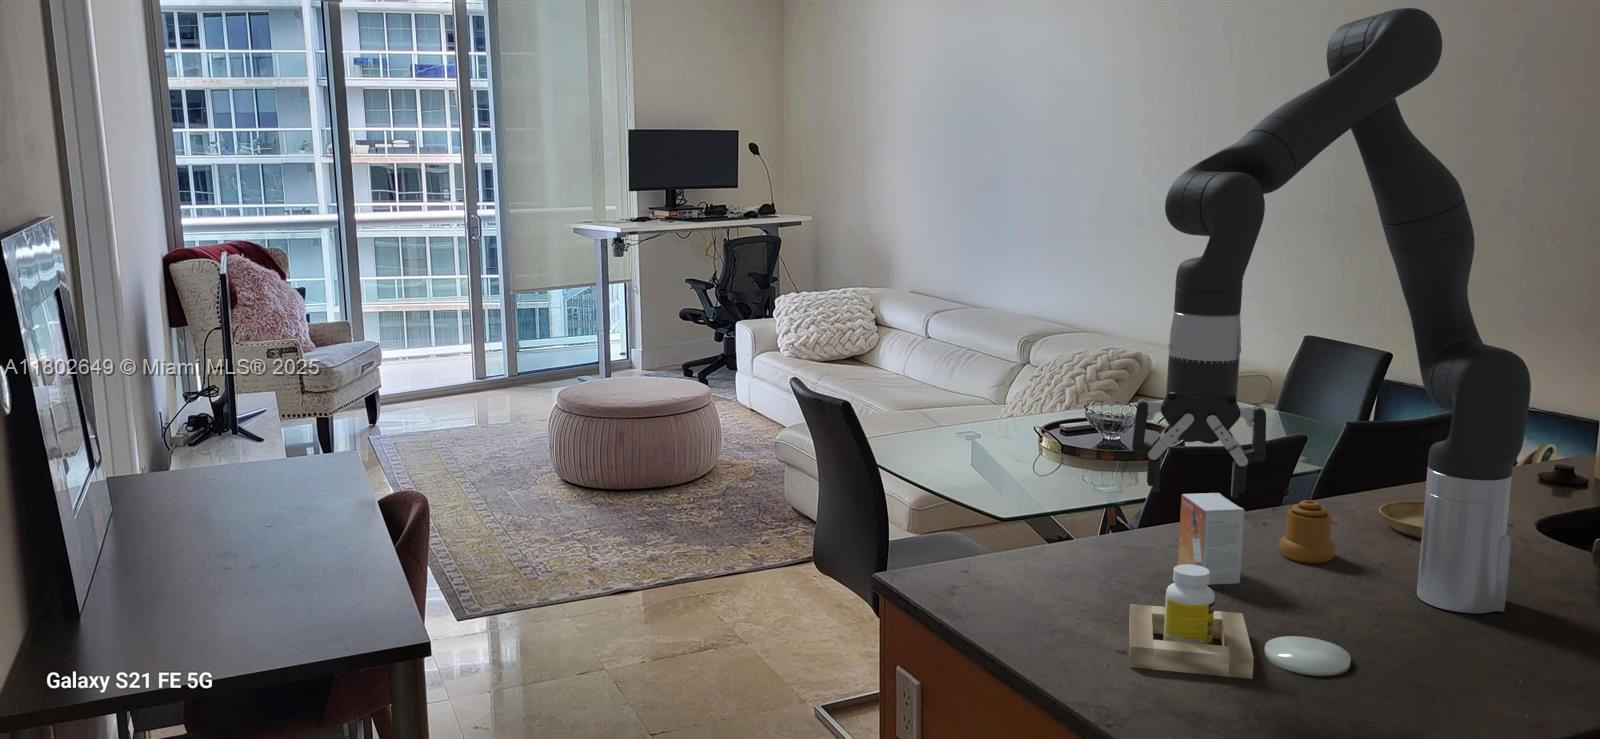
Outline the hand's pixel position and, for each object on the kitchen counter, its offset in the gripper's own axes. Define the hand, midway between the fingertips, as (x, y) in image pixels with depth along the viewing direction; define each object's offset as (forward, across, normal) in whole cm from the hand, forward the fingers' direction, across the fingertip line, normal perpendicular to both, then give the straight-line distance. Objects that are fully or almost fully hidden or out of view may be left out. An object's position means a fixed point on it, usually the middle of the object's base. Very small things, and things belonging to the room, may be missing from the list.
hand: (1194, 492), depth 134 cm
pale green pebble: (+19, -13, 0) cm, 23 cm away
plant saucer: (+18, -37, -55) cm, 69 cm away
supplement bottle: (+19, 0, 0) cm, 19 cm away
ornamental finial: (+18, -18, -38) cm, 45 cm away
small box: (+19, -4, -26) cm, 33 cm away
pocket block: (+19, 0, 0) cm, 19 cm away
